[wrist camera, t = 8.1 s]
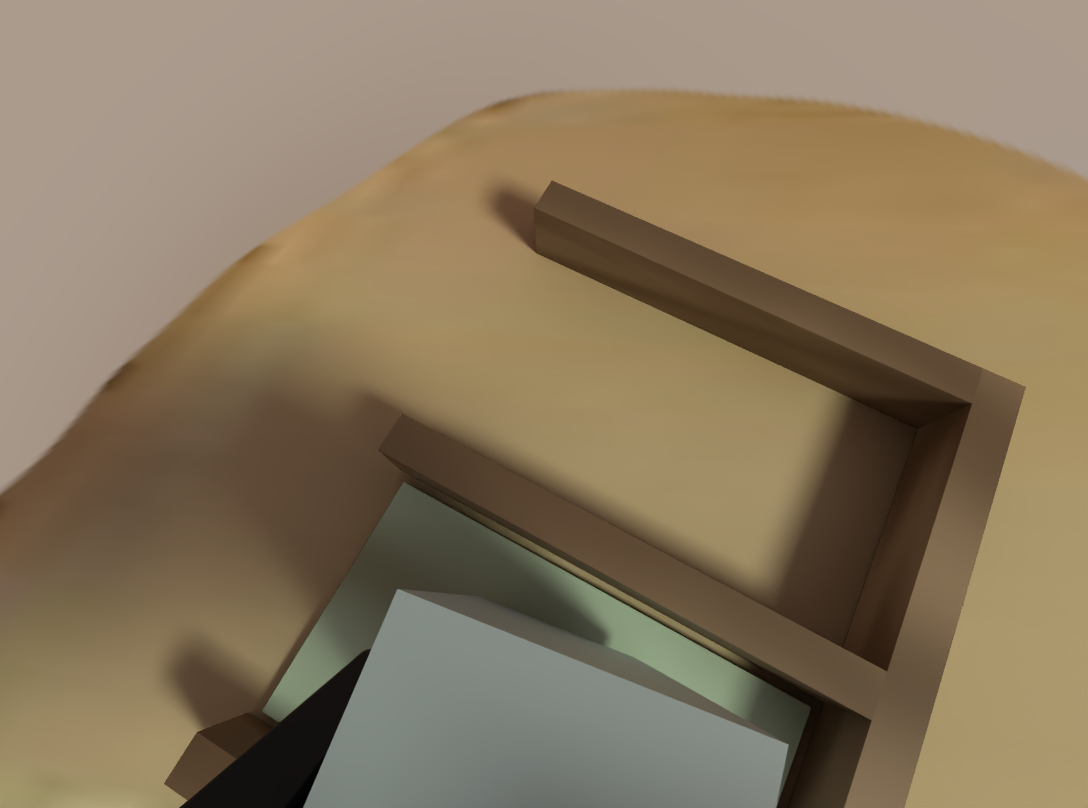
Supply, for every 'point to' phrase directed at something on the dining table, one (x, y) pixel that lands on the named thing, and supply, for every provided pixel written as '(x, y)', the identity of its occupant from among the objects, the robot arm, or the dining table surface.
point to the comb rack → (671, 586)
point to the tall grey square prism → (530, 722)
